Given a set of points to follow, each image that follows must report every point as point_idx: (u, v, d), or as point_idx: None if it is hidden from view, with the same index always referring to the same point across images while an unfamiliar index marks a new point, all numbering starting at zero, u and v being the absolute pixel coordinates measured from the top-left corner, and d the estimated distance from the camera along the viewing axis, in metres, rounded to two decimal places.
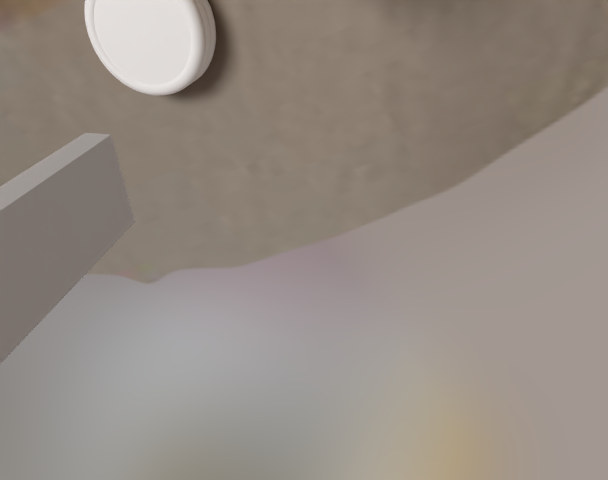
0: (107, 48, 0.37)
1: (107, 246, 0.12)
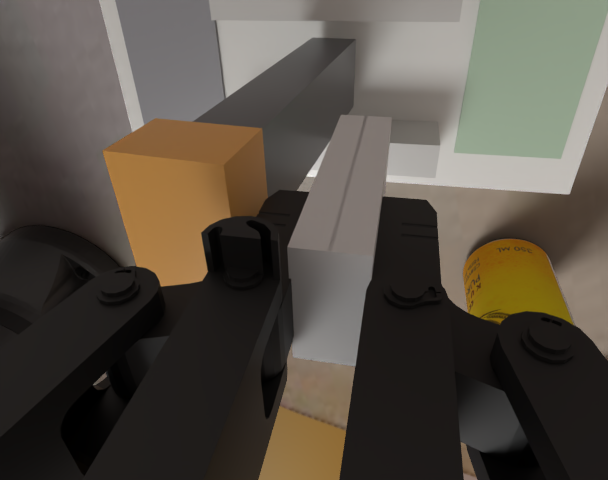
0: None
1: None
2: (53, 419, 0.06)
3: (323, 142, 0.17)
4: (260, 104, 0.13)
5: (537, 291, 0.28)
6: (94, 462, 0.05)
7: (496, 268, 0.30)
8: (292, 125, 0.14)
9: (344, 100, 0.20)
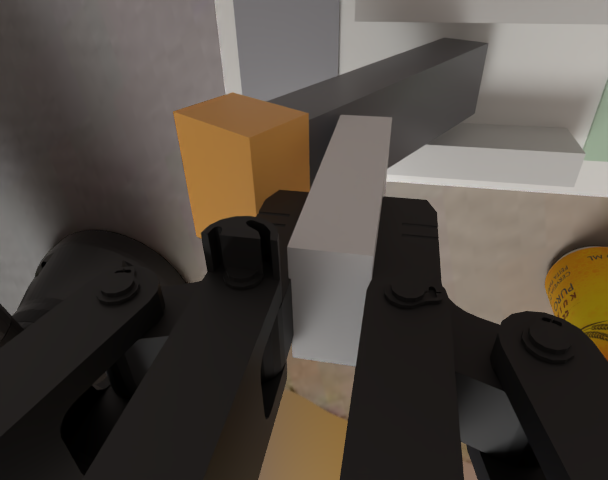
0: None
1: None
2: (52, 418, 0.06)
3: (416, 143, 0.17)
4: (338, 94, 0.14)
5: None
6: (94, 461, 0.05)
7: (591, 277, 0.29)
8: None
9: (458, 105, 0.19)
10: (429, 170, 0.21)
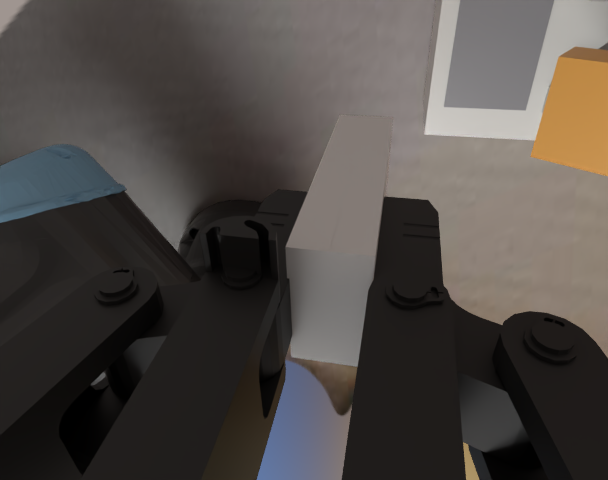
0: None
1: None
2: (51, 418, 0.06)
3: None
4: None
5: None
6: (91, 462, 0.05)
7: None
8: None
9: None
10: None
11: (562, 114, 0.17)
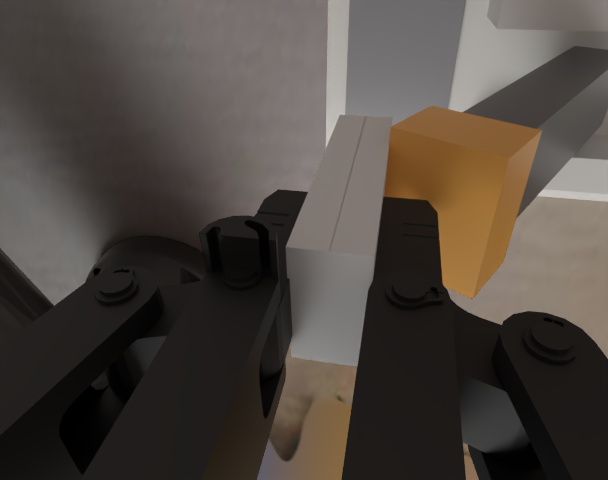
0: None
1: None
2: (52, 418, 0.06)
3: (567, 156, 0.17)
4: (527, 107, 0.13)
5: None
6: (92, 462, 0.05)
7: None
8: (553, 133, 0.13)
9: (597, 116, 0.18)
10: (552, 182, 0.20)
11: None
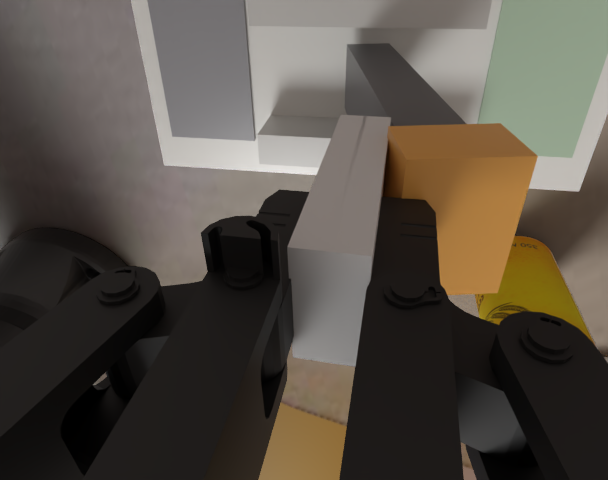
0: None
1: None
2: (53, 418, 0.06)
3: None
4: (423, 105, 0.14)
5: (545, 284, 0.29)
6: (94, 462, 0.05)
7: None
8: None
9: None
10: None
11: None
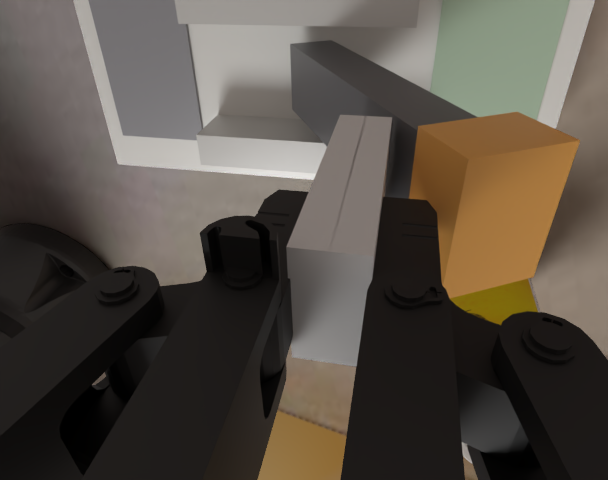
0: None
1: None
2: (52, 418, 0.06)
3: None
4: (419, 101, 0.13)
5: (507, 292, 0.28)
6: (94, 462, 0.05)
7: None
8: None
9: None
10: (270, 163, 0.22)
11: (477, 233, 0.10)
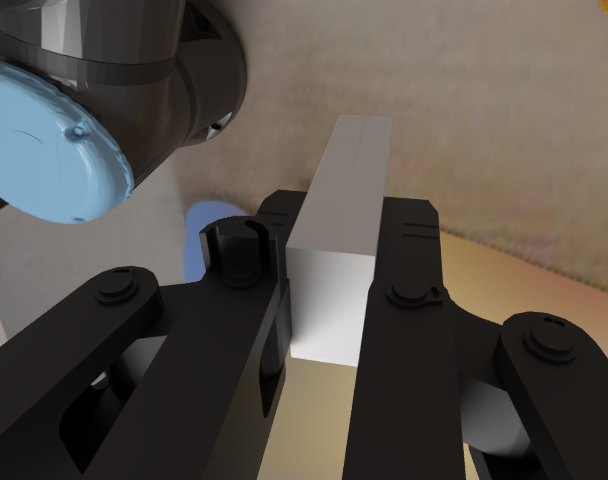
0: None
1: None
2: (52, 418, 0.06)
3: None
4: None
5: None
6: (92, 462, 0.05)
7: None
8: None
9: None
10: None
11: None
